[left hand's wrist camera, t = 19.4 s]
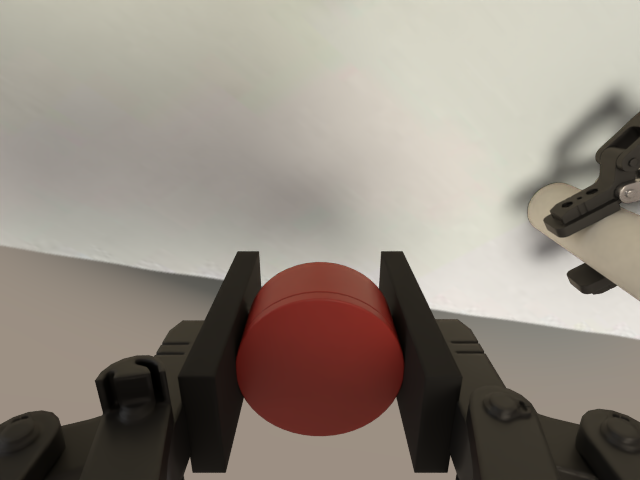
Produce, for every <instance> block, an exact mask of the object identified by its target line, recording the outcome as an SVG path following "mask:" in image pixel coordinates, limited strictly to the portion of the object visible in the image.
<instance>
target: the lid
mask: <svg viewBox="0 0 640 480" xmlns="http://www.w3.org/2000/svg"><path fill="white" fill-rule="evenodd" d="M236 373H237V382H238V385H239V388H240V390H241V393H242V395H243V396H244V398H245V400H246V401H247V403H248V404H249V405H250V406H251V408H252V409H253V410H254V411H255V412H256V413H257V414H258V415H260V416H261V417H262V418H264V419H265V420H266V421H268V422H270V423H271V424H273V425H275V426H277V427H279V428H281V429H284V430H287V431H290V432H293V433H297V434H302V435H309V436H330V435H338V434H343V433H347V432H350V431H353V430H356V429H358V428H361V427H363V426H365V425H367V424H368V423H370V422H372V421H373V420H375V419H376V418H378V417H379V416H380V415H381V414H382V413H383V412H385V411H386V410H387V408H388V407H389V406H390V405H391V404H392V403H393V401H394V399H395V398H396V396H397V394H398V392H399V390H400V388H401V385H402V381H403V375H404V357H403V352H402V348H401V345H400V342H399V338H398V335H397V332H396V329H395V325H394V322H393V319H392V315H391V312H390V309H389V306H388V304H387V301H386V299H385V297H384V295H383V294H382V292H381V291H380V290H379V288H378V287H377V286H376V285H375V284H374V283H373V282H372V281H371V280H370V279H369V278H367V277H366V276H364V275H363V274H361V273H360V272H358V271H356V270H354V269H351V268H349V267H346V266H343V265H339V264H335V263H327V262H313V263H305V264H301V265H297V266H294V267H291V268H288V269H286V270H284V271H282V272H280V273H278V274H277V275H276V276H274V277H273V278H271V279H270V280H269V281H268V282H267V283H266V284H265V285H264V286H263V287H262V288H261V289H260V291H259V292H258V294H257V295H256V297H255V298H254V301H253V303H252V305H251V308H250V312H249V315H248V318H247V322H246V325H245V328H244V332H243V335H242V338H241V342H240V345H239V348H238V352H237V356H236Z"/></svg>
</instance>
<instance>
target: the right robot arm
mask: <svg viewBox="0 0 640 480" xmlns="http://www.w3.org/2000/svg"><path fill="white" fill-rule="evenodd" d="M595 157H596V161H597V162H598V163H599V164H600V175H599V178H598V179H597V180H596V181H595V183H594V184H593V185H591V186H589V187H588V188H586V189H584V190H582V191H580V192H578V193H576V194H574V195H572V196H571V197H569V198H567V199H565V200H563V201H561V202H559V203H557V204H556V205H555V206H554V207H553V208H552V209H551V210H550V213H551V214H550V215H548V216H546V217H545V218H544V219H543V221H544V224H545V226H546V228H547V230H548V231H550V232H551V233H553V234H554V235H556V236H557V237H559V238H565V237H568V236H570V235H572V234H574V233H576V232H578V231H580V230H582V229H584V228H586V227H588V226H590V225H592V224H594V223H596V222H598V221H600V220H602V219H604V218H606V217H607V216H610V215H612V214H614V213H616V212H618V211H620V210H621V208H620V205H619V203H621V202H623V203H632V202H636V201H640V112H639V113H638V114H637V115H635V116H634V117H633V118H632V119H631V120H630V121H629V122H628V123H627V124H626V125H625V126H624V127H622V128H621V129H620V130H619V131H618V132H617V133H616V134H615V135H614V136H613V137H612V138H611V139H610V140H608V141H607V142H606V143H605V144H604V145H603V146H602V147H601V148H600V149H599V150H598V151H597V153H596V156H595ZM567 277H568V279H569V281H570V283H571V284H572V285H573V286H574V287H575V288H577V289H578V290H579V291H580V292H582V293H584V294H591V293H592V294H593V295H594V294H600V293H603V292H606V291H608V290H610V289H612V288H614V287H616V286H617V285H616V284H615V283H613V282H612V281H610V280H609V279H607V278H606V277H605V276H603V275H602V274H600V273H599V272H597V271H596V270H595V269H593V268H592V267H590V266H589V265H587V264H586V263H584V264H582V265H580V266H578V267H576V268H574V269H572V270H570V271H568V273H567Z"/></svg>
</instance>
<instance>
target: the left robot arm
mask: <svg viewBox="0 0 640 480" xmlns="http://www.w3.org/2000/svg"><path fill="white" fill-rule="evenodd" d="M260 289H261V277H260V260H259V251H238V252H237V254H236V256H235V258H234V260H233V262H232V264H231V266H230V269H229V271H228V273H227V275H226V277H225V279H224V281H223V283H222V285H221V287H220V289H219V291H218V294H217V296H216V298H215V300H214V302H213V304H212V306H211V308H210V310H209V312H208V314H207V317H206V319H205V321H182V322H180V323H179V324H178V325H176V326H175V327H174V328H173V329H171V330H170V331H169V333H168V334H167V336H166V338H165V339H164V341H163V343H162V345H161V346H160V348H159V349H158V351H157V354H156V355H155V356H154V357H153V356H149V355H142V356H133V357H129V358H125V359H122V360H120V361H118V362H115V363H113V364H111V365H110V366H109V367H107V368H106V369H105V370H103V371H102V372H101V373H100V374H99V376H98V377H97V379H96V380H95V383H96V387H97V391H98V395H99V399H100V402H101V407H102V410H103V415H102V416H99V417H96V418H93V419H89V420H85V421H81V422H77V423H73V424H68V425H64V426H61V424H60V421H59V418H58V417H57V416H56V415H55V414H54V413H52V412H47V411H34V412H27V413H24V414H21V415H19V416H16V417H13V418H11V419H9V420H7V421H6V422H4V423H2V424H0V480H184V472H185V469H186V466H187V464H188V460H189V458H191V465H192V471H193V473H225V472H226V469H227V465H228V461H229V456H230V452H231V448H232V444H233V440H234V436H235V432H236V428H237V423H238V419H239V415H240V411H241V407H242V403H243V398H244V396H243V395H242V393H241V390H240V388H239V385H238V382H237V373H236V356H237V352H238V348H239V345H240V342H241V338H242V335H243V332H244V328H245V325H246V322H247V318H248V315H249V312H250V308H251V305H252V303H253V301H254V298H255V297H256V295H257V294H258V292H259V291H260ZM379 290H380V291H381V292H382V294H383V295H384V297H385V299H386V301H387V304H388V306H389V309H390V312H391V315H392V319H393V322H394V325H395V329H396V332H397V335H398V338H399V342H400V345H401V348H402V352H403V357H404V375H403V381H402V385H401V388H400V390H399V392H398V394H397V396H396V397H397V401H398V406H399V410H400V414H401V418H402V422H403V427H404V431H405V435H406V439H407V443H408V447H409V451H410V456H411V460H412V464H413V468H414V472H415V473H447V472H448V466H449V460H450V455H451V458H452V461H453V464H454V467H455V469H456V472H457V475H456V480H640V422H638V421H637V420H635V419H633V418H631V417H629V416H627V415H624V414H621V413H618V412H615V411H612V410H604V409H596V410H590V411H588V412H587V413H585V414H584V415H583V416H582V419H581V422H580V425H579V424H575V423H570V422H566V421H562V420H558V419H553V418H550V417H546V416H543V415H540V414H538V413H537V412H536V410H535V409H534V407H533V406H532V404H531V403H530V402H529V401H528V400H527V399H525V398H524V397H523V396H522V395H520V394H518V393H516V392H514V391H512V390H510V389H507V388H506V387H505V385H504V384H503V382H502V380H501V379H500V377H499V375H498V374H497V372H496V370H495V369H494V367H493V365H492V364H491V362H490V360H489V359H488V357H487V355H486V354H484V350H483V349H482V347H481V345H480V344H478V340H477V339H476V337H475V336H474V334H473V332H472V330H471V329H470V328H468V327H467V326H466V325H464V324H463V323H462V322H460V321H459V320H458V319H435V318H434V316H433V314H432V312H431V310H430V308H429V306H428V303H427V301H426V299H425V297H424V295H423V293H422V291H421V289H420V287H419V285H418V283H417V281H416V278H415V276H414V274H413V272H412V270H411V268H410V266H409V264H408V262H407V260H406V258H405V255H404V253H403V251H381V264H380V281H379Z"/></svg>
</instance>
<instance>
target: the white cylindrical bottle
mask: <svg viewBox="0 0 640 480" xmlns="http://www.w3.org/2000/svg"><path fill="white" fill-rule="evenodd" d="M580 191H582V190H580V189H578V188H575V187H573V186H571V185H568V184H565V183H553V184H549V185H547V186H545V187H543V188H542V189H540V190H539V191H538V192H537V193H536V194H535V195H534V196H533V197H532V199H531V201H530V203H529V206H528V218H529V221H530V223H531V224H532V225H533V226H534V227H535V228H536V229H538V230H539V231H540V232H542V233H543V234H545V235H546V236H548V237H549V238H550V239H552V240H553V241H555V242H556V243H558V244H559V245H560V246H562V247H563V248H565V249H566V250H568V251H569V252H570V253H572V254H573V255H575V256H576V257H577V258H579V259H580V260H582V261H583V262H585V263H586V264H587V265H589V266H590V267H592V268H593V269H595V270H596V271H597V272H599V273H600V274H602V275H603V276H605V277H606V278H607V279H609V280H610V281H612V282H613V283H615V284H616V285H617V286H619V287H620V288H622V289H623V290H625V291H626V292H627V293H629V294H630V295H632V296H633V297H635V298H636V299H637V300H639V301H640V215H637V214H635V213H633V212H631V211H628V210H626V209H624V208H621V207H620V208H621V210H620V211H618V212H616V213H614V214H612V215H610V216H607V217H606V218H604V219H602V220H600V221H598V222H596V223H594V224H592V225H590V226H588V227H586V228H584V229H582V230H580V231H578V232H576V233H574V234H572V235H570V236H568V237H565V238H559V237H557V236H556V235H554V234H553V233H551V232H550V231H548V230H547V228H546V226H545V224H544V221H543V219H544V218H545V217H546V216H548V215H550V214H551V213H550V210H551V209H552V208H553V207H554V206H555V205H556V204H557V203H559V202H561V201H563V200H565V199H567V198H569V197H571V196H572V195H574V194H576V193H578V192H580Z"/></svg>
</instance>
